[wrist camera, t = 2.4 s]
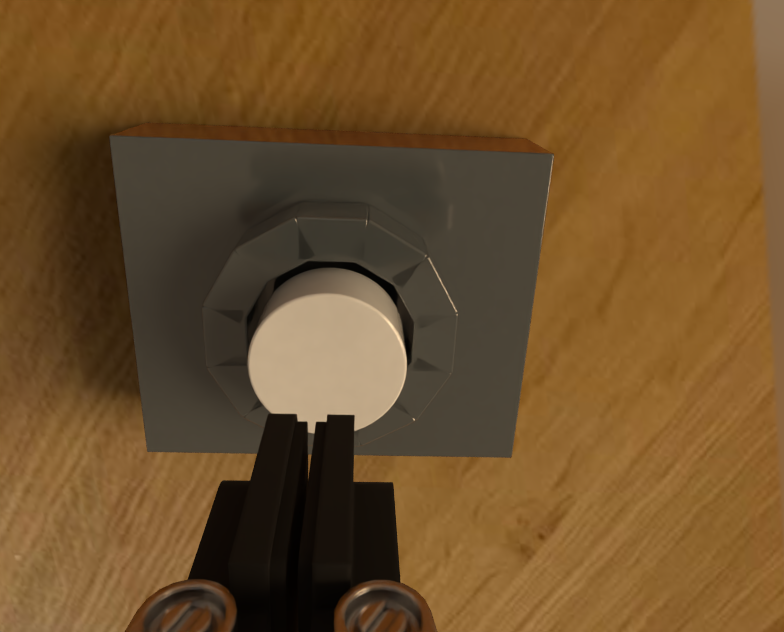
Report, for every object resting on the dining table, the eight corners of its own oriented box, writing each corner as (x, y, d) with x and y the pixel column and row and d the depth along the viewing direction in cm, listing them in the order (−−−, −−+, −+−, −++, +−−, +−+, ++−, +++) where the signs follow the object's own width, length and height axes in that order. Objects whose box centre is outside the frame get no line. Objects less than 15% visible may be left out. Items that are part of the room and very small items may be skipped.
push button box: (146, 121, 20) (80, 144, 15) (527, 138, 20) (574, 164, 16) (173, 402, 24) (127, 488, 19) (494, 408, 24) (524, 492, 20)
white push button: (256, 264, 17) (243, 291, 15) (406, 268, 17) (412, 296, 15) (261, 395, 19) (250, 434, 17) (399, 398, 19) (402, 437, 17)
